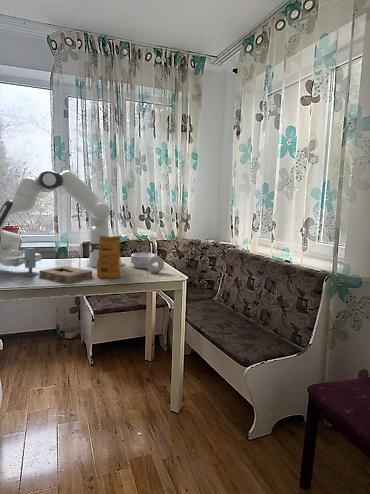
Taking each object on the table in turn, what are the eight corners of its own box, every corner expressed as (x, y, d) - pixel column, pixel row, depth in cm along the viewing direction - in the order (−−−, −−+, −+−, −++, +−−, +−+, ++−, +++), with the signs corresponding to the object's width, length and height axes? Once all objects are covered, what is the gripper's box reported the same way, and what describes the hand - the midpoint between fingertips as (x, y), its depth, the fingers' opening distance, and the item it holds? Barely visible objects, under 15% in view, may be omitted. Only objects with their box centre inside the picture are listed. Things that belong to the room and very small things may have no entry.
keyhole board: (39, 277, 173) (39, 270, 173) (64, 272, 187) (64, 265, 186) (68, 283, 163) (68, 276, 162) (92, 277, 177) (92, 270, 176)
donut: (163, 272, 195) (164, 255, 194) (163, 273, 192) (164, 256, 191) (146, 272, 194) (146, 255, 193) (146, 273, 191) (146, 256, 190)
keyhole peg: (23, 276, 174) (22, 248, 172) (31, 274, 178) (31, 247, 176) (29, 277, 172) (28, 249, 170) (37, 275, 176) (37, 248, 174)
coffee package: (98, 274, 184) (98, 234, 181) (121, 274, 185) (121, 235, 182) (95, 278, 175) (95, 236, 172) (119, 279, 176) (119, 237, 173)
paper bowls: (133, 270, 199) (134, 256, 198) (128, 265, 213) (128, 252, 212) (158, 268, 205) (158, 256, 204) (151, 264, 219) (151, 252, 218)
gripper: (-5, 254, 171) (12, 257, 164) (31, 250, 188) (47, 252, 182) (-5, 266, 172) (12, 270, 165) (31, 261, 189) (47, 264, 183)
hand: (31, 261), depth 174 cm, fingers closed on keyhole peg, 4 cm apart
